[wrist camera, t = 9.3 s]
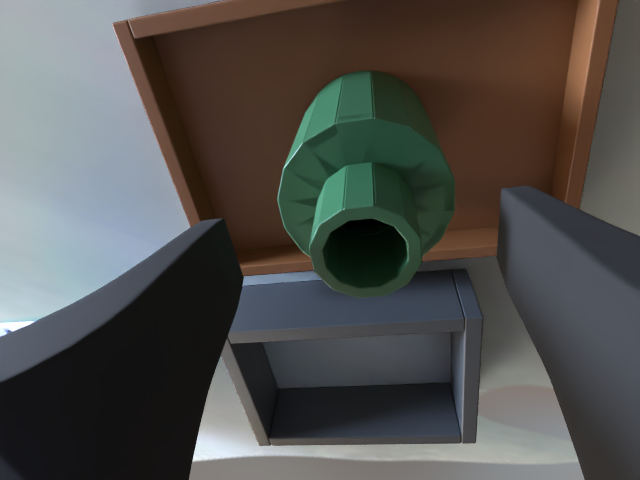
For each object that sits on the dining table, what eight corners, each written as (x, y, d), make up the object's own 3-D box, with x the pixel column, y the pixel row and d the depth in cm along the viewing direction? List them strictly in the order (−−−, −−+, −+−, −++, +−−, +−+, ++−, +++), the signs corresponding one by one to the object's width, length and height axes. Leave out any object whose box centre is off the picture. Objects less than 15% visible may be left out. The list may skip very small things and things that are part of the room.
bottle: (314, 197, 19) (285, 335, 12) (291, 81, 16) (237, 171, 9) (429, 184, 18) (471, 325, 11) (426, 59, 15) (479, 141, 8)
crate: (269, 396, 28) (258, 446, 25) (229, 286, 23) (210, 333, 20) (463, 390, 26) (476, 444, 23) (467, 268, 21) (484, 317, 18)
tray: (222, 255, 22) (210, 279, 20) (137, 17, 16) (110, 23, 14) (554, 225, 19) (572, 250, 18) (600, -73, 13) (634, -79, 12)
